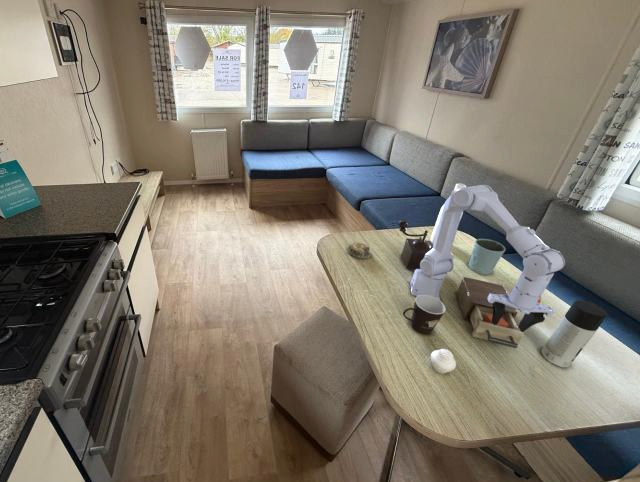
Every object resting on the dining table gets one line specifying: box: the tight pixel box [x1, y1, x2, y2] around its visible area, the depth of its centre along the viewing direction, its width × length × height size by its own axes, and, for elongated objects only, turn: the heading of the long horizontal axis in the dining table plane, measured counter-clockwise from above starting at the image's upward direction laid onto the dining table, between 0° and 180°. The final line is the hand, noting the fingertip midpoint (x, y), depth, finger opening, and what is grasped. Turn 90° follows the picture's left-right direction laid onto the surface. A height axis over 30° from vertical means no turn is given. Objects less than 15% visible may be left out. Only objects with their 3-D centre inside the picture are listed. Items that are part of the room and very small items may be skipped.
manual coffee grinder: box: [397, 219, 434, 271], centre depth 129 cm, size 16×11×18 cm
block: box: [483, 314, 509, 327], centre depth 97 cm, size 4×4×4 cm
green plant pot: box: [468, 238, 507, 276], centre depth 128 cm, size 10×10×12 cm
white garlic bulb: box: [430, 348, 457, 374], centre depth 86 cm, size 6×6×7 cm
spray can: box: [541, 299, 608, 368], centre depth 87 cm, size 7×7×20 cm
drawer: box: [469, 305, 525, 349], centre depth 98 cm, size 18×11×6 cm, turn 159°
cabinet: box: [456, 276, 519, 322], centre depth 107 cm, size 15×13×8 cm
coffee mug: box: [402, 295, 447, 336], centre depth 99 cm, size 12×9×10 cm
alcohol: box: [430, 183, 467, 245], centre depth 142 cm, size 9×9×30 cm
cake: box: [347, 241, 372, 259], centre depth 138 cm, size 10×10×5 cm
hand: (507, 326), depth 90 cm, fingers open, 6 cm apart
